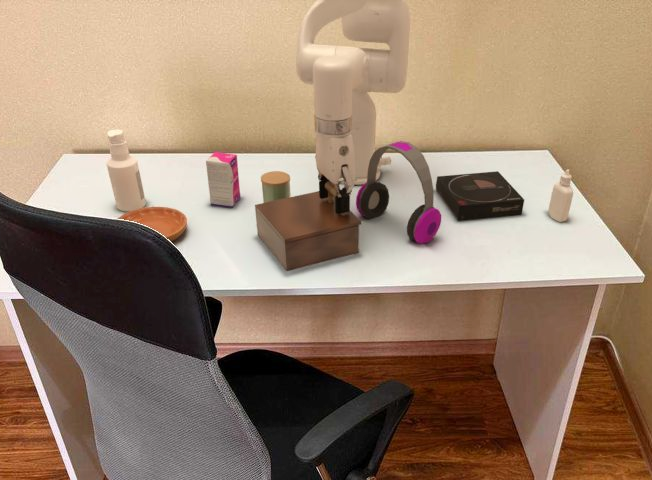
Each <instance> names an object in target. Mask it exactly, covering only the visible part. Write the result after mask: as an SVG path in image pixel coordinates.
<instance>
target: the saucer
mask: <svg viewBox="0 0 652 480" xmlns="http://www.w3.org/2000/svg"><path fill="white" fill-rule="evenodd" d="M117 219H124V220H129V221H134V222H137V223H140V224H143V225H146V226H148V227H150V228H152V229H154V230H156V231H158V232H159V233H161V234H162V235H164V236H165V237H166V238H167V239H169V240H170V241H171V242H170V243H172V242H174V241H175V240H177V239H178V238H180V236H181V235H182V234H184V231H186V229H187V227H188V218H187V216H186V214H184V212H182V211H181V210H178V209H176V208H173V207H167V206H148V207H147V206H146V207H143V208H140V209H136V210H133V211H127V212H125V213H123V214H122V215H120V216H119V217H118V218H117Z"/></svg>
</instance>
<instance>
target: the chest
mask: <svg viewBox="0 0 652 480" xmlns="http://www.w3.org/2000/svg"><path fill="white" fill-rule="evenodd" d="M254 210H255V221H256V232H257V236H258V237H259V238H260V240H261V241H262V242H263V244H264V245H265V246H266V247H267V248H268V249H269V251H270V252H271V253H272V255H273V256H274V257H275V259H276V260H277V261H278V262H279V264H281V266H282V267H283V268H284V270H285V271H286V272H289V271H292V270H296V269H300V268H303V267H309V266H311V265H315V264H319V263H323V262H324V263H325V262H327V261H332V260H335V259H340V258H343V257H348V256H351V255H355V254H359V251H360V250H359V249H360V247H359V245H360V236H359V235H360V225H357V226H353V227H348V228H344V229H340V230H336V231H332V232H328V233H324V234H320V235H315V236H311V237H307V238H303V239H299V240H295V241H291V242H287V243H285V242H284V241H283V240H282V239H281V238H280V237H279V235H278V234H277V233H276V232H275V231H274V229H273V228H272V227H271V226H270V225H269V224H268V222H267V221H266V220H265V219H264V218H263V217H262V215H261V214H260V213H259V212H258V211H257V210H256V208H255V207H254Z"/></svg>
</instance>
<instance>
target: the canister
mask: <svg viewBox="0 0 652 480" xmlns="http://www.w3.org/2000/svg"><path fill="white" fill-rule="evenodd" d="M260 182H261V190H262V199H263V200H262V201H263V202H262V203H266V202H271V201H275V200H280V199H285V198H289V197H292V196H291V195H292V194H291V193H292V192H291V175H290V174H289V173H287V172H284V171H279V170H274V171H273V170H272V171H268V172H265V173H263V174H261V176H260Z"/></svg>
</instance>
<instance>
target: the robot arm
mask: <svg viewBox="0 0 652 480" xmlns="http://www.w3.org/2000/svg"><path fill="white" fill-rule="evenodd" d="M339 19H341V30H342V34H343V37H345V38H346V39H347V40H350V41H354V42H361V43H362V42H363V43H374V44H375V43H377V44H386V45H387V46H388V47H389V49H382V48H381V49H379V48H368V47H356V46H349V45H348V46H347V45H337V44H334V45H333V44H320V43H319V44H315V40H316V37H317V36H318V34H319V32H320V31H321V30H322V29H324V28H325V26H327V25H329V24H330V23H333V22H334V21H337V20H339ZM410 26H411V14H410V8H409V6H408V3H407V2H406V1H405V0H316V1H315V2H314V3H313V4H312V5H311V7H310V8H309V9H308V11H306V14H305V16H304V17H303V19H302V22H301V23H300V26H299V31H298V37H297V38H298V40H297V46H296V47H297V49H296V60H295V69H296V73H297V76H298V78H299V80H300V81H301V82H303V83H304V84H306V85H313V87H312V88H313V111H314V113H313V116H314V119H313V121H314V133H315V157H314V159H315V165H316V169H317V172H318V174H317V179H318V191H319V197H320V198H321V199H323V198H328V190H327V189H326V188H325V183H326V182H328V181H331V182H332V183H334V184H335V189H336V193H337V196H335V213H336V214H341V213H345V212H349V211H351V195H352V192H353V189H354V188H355V185H357V186H358V185H361V186H362V185H364V184H365V183H366V182H367V175H368V166H369V162H370V159H371V157H372V155H373V153H374V152H375V151H376V133H377V131H376V128H377V108H376V104H375V102H374V100H373V98H372V96H371V95H370V94H369V93H381V94H399V93H401V92H402V91H403V90H404V88H405V87H406V82H407V76H408V63H409V44H410V29H411V27H410ZM391 164H392V158H391V157H390V156H385V157H383V156H382V157H381V158H380V161H379V164H378V167H377V173H376V181H377V180H379V179H380V177H381V170H380V168H381V167H382V166H387V165H391ZM341 185H344V187H342V188H341ZM340 189H341V190H340ZM332 196H333V195H332Z"/></svg>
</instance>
